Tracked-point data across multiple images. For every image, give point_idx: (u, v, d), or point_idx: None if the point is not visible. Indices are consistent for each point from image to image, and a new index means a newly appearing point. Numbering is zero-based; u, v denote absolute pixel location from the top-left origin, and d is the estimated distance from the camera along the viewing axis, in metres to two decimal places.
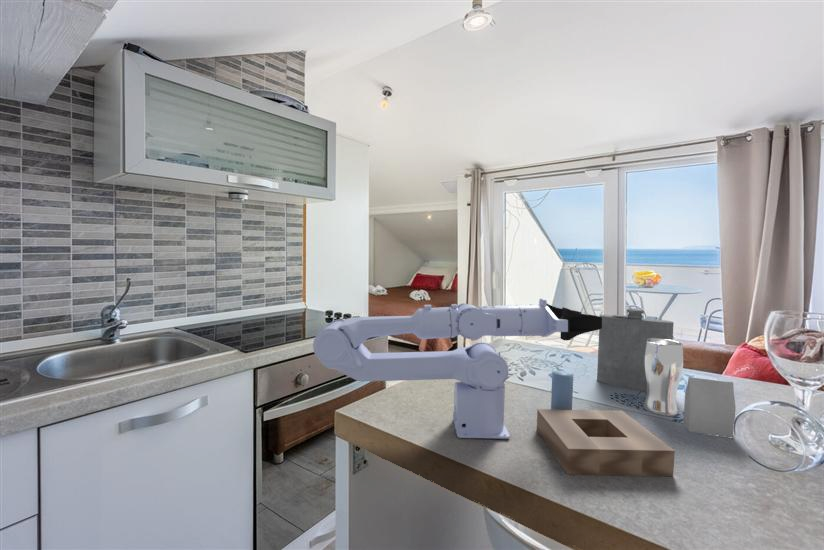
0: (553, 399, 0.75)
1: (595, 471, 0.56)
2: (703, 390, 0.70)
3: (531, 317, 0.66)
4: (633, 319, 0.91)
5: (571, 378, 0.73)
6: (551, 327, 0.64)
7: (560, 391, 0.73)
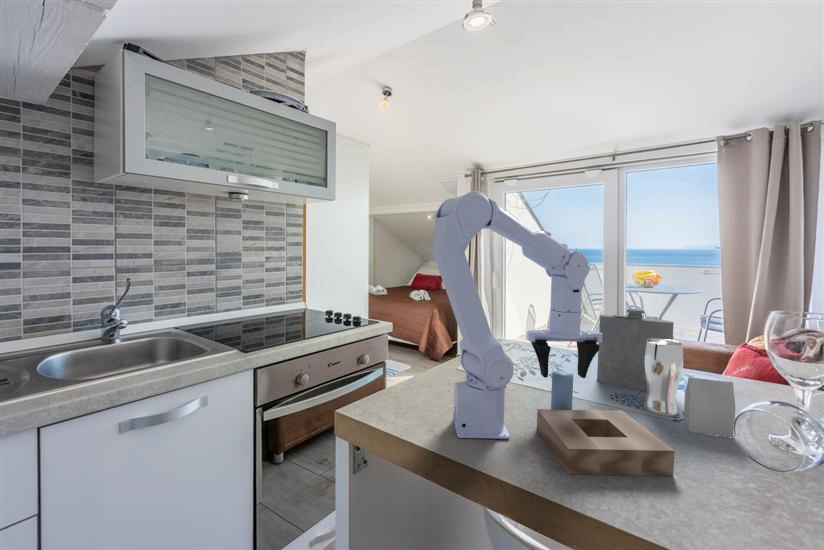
0: (553, 399, 0.75)
1: (595, 471, 0.56)
2: (702, 390, 0.70)
3: None
4: (633, 319, 0.91)
5: (571, 378, 0.73)
6: (588, 333, 0.74)
7: (560, 391, 0.73)
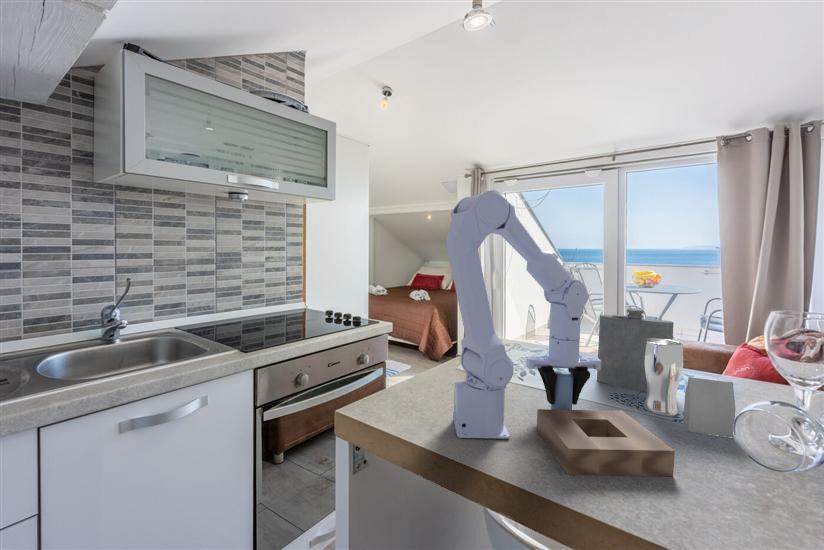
0: None
1: (595, 471, 0.56)
2: (702, 390, 0.70)
3: None
4: (633, 319, 0.91)
5: (571, 378, 0.73)
6: (587, 360, 0.74)
7: (560, 391, 0.73)
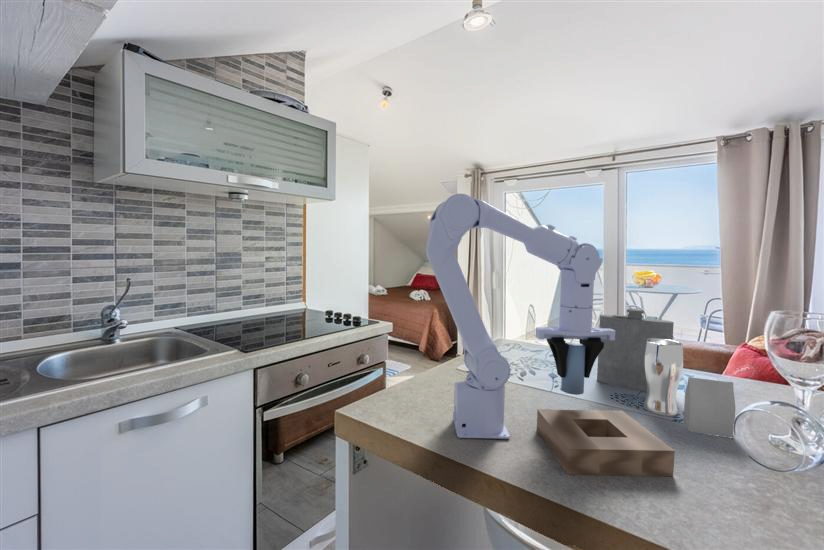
0: None
1: (595, 471, 0.56)
2: (703, 390, 0.70)
3: None
4: (633, 319, 0.91)
5: (584, 349, 0.69)
6: (600, 330, 0.70)
7: (572, 363, 0.69)
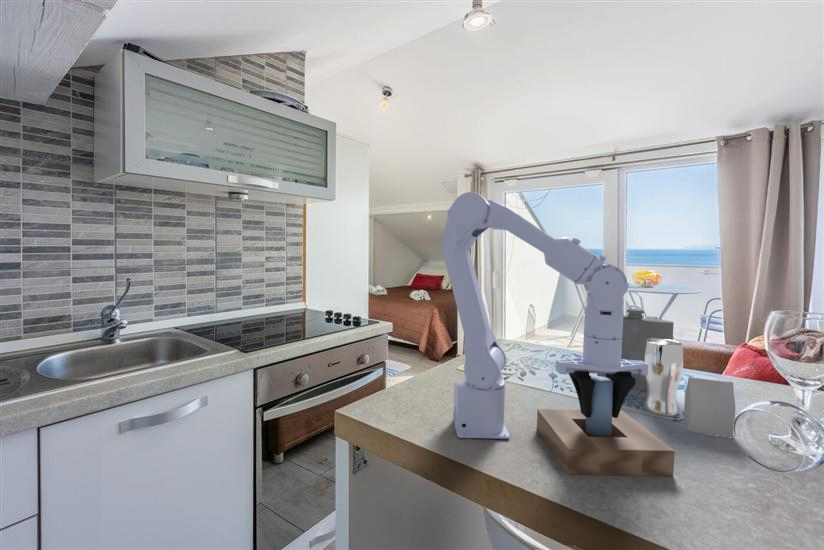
0: None
1: (595, 471, 0.56)
2: (703, 390, 0.70)
3: None
4: (633, 319, 0.91)
5: (612, 385, 0.60)
6: (631, 364, 0.61)
7: (598, 401, 0.60)
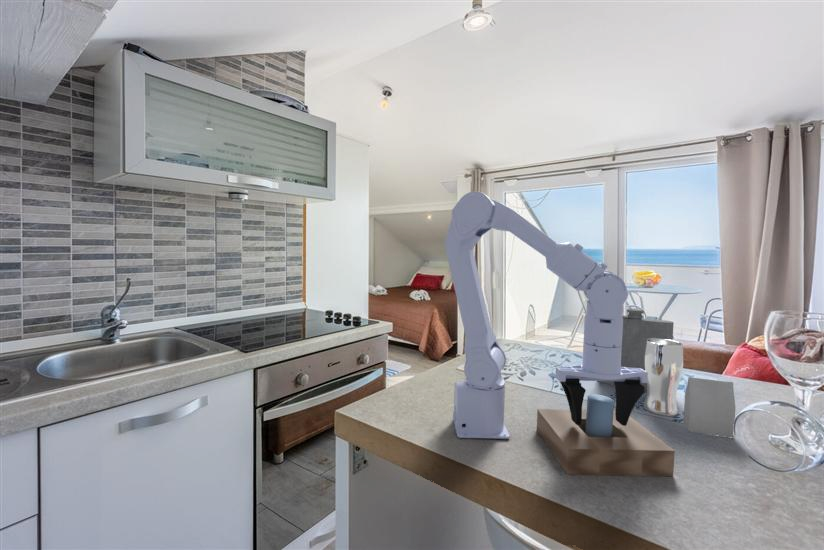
0: (589, 430, 0.62)
1: (595, 471, 0.56)
2: (703, 390, 0.70)
3: None
4: (633, 319, 0.91)
5: (612, 405, 0.60)
6: (630, 371, 0.61)
7: (598, 421, 0.60)
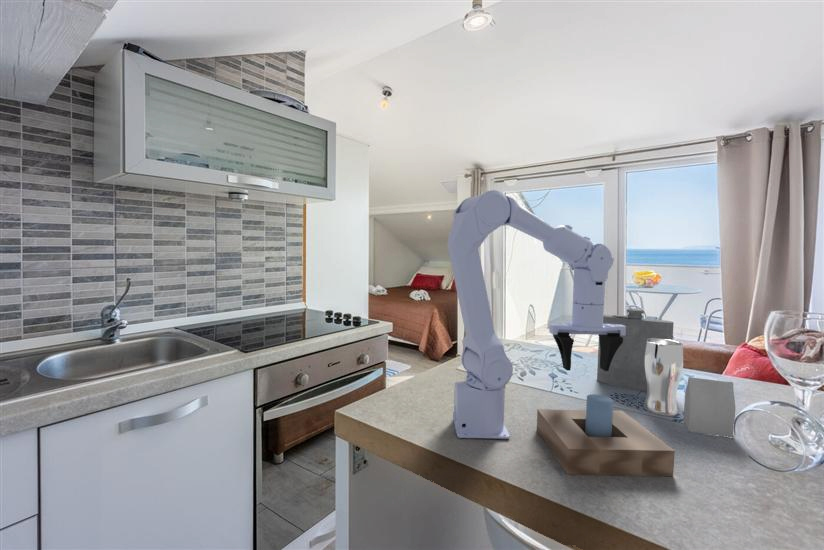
0: (588, 430, 0.62)
1: (595, 471, 0.56)
2: (703, 390, 0.70)
3: None
4: (633, 319, 0.91)
5: (612, 405, 0.60)
6: (611, 326, 0.73)
7: (598, 421, 0.60)
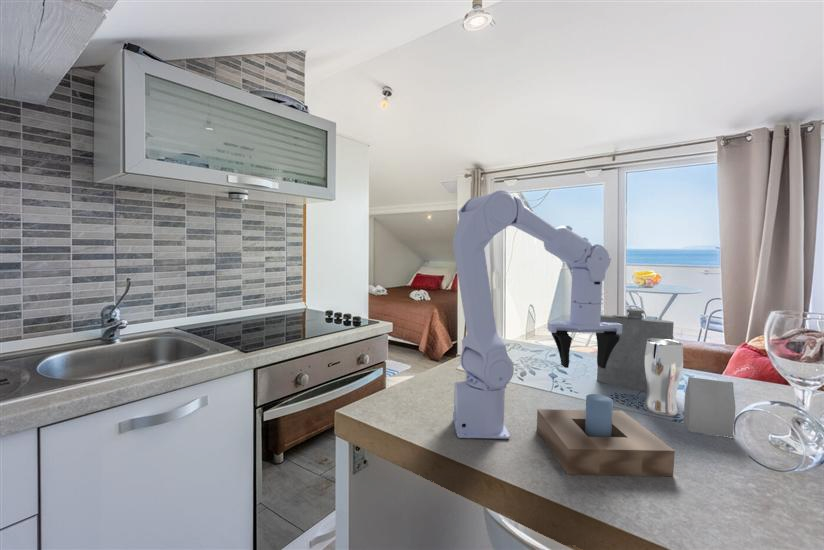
0: (588, 430, 0.62)
1: (595, 471, 0.56)
2: (703, 390, 0.70)
3: None
4: (633, 319, 0.91)
5: (611, 405, 0.61)
6: (608, 324, 0.76)
7: (597, 420, 0.61)
